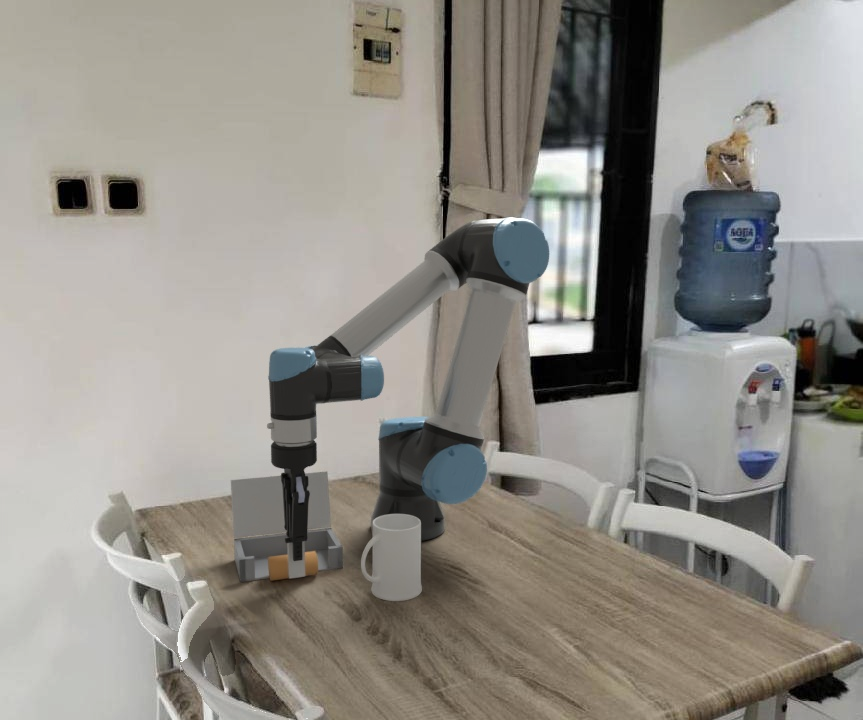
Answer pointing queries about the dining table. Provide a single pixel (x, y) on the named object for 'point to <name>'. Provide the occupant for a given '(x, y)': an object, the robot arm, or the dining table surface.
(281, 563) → the tan foam roller
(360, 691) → the dining table surface
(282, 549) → the shallow grey tray
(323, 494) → the lid
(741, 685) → the dining table surface
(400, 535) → the mug
